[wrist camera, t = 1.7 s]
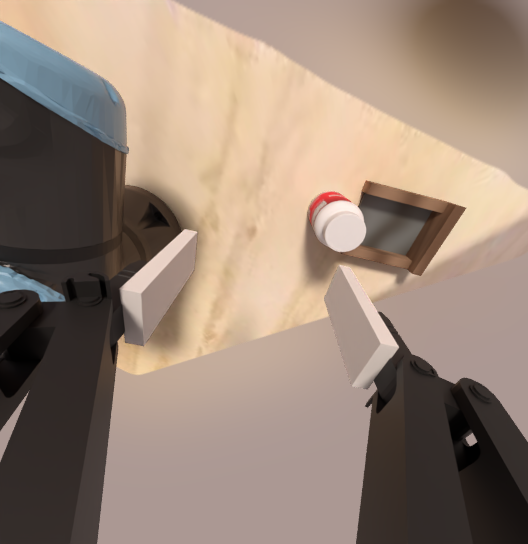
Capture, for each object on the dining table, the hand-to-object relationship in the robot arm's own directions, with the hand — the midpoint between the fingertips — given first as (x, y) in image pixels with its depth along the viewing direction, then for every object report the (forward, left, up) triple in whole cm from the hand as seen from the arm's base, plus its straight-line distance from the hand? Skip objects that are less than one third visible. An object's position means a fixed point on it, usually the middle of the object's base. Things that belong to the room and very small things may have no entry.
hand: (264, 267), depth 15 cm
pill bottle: (+9, 0, -24) cm, 25 cm away
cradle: (+19, 0, -23) cm, 30 cm away
